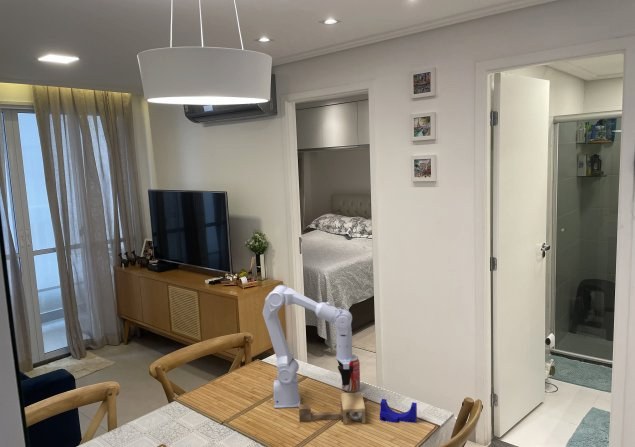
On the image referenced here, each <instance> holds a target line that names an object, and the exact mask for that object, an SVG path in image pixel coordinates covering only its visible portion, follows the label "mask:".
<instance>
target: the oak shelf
mask: <svg viewBox="0 0 635 447" xmlns="http://www.w3.org/2000/svg"><path fill="white" fill-rule="evenodd" d="M340 408H341V409H343V422H342V423H343V425H347V413H350V412H360V411H361V412H362V419H361V423H362V425H365V424H366V407H365V402H364V398H363V394H362V392H361V391H360V392H358V391H357V392H342V393H340ZM341 409H340V410H341Z"/></svg>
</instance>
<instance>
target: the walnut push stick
mask: <svg viewBox="0 0 635 447" xmlns="http://www.w3.org/2000/svg"><path fill="white" fill-rule="evenodd" d="M311 407H312V405H311V403H310V404H309V403H308V404H307V403H306V404H300V405H299V407H298V416H299V418H298V420H299V423H311V422H315V421H340V420H341V422H342V423H343V409H340V411H325V412H324V411H323V412H322V411H321V412H320V411H319V412H312V408H311Z"/></svg>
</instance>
